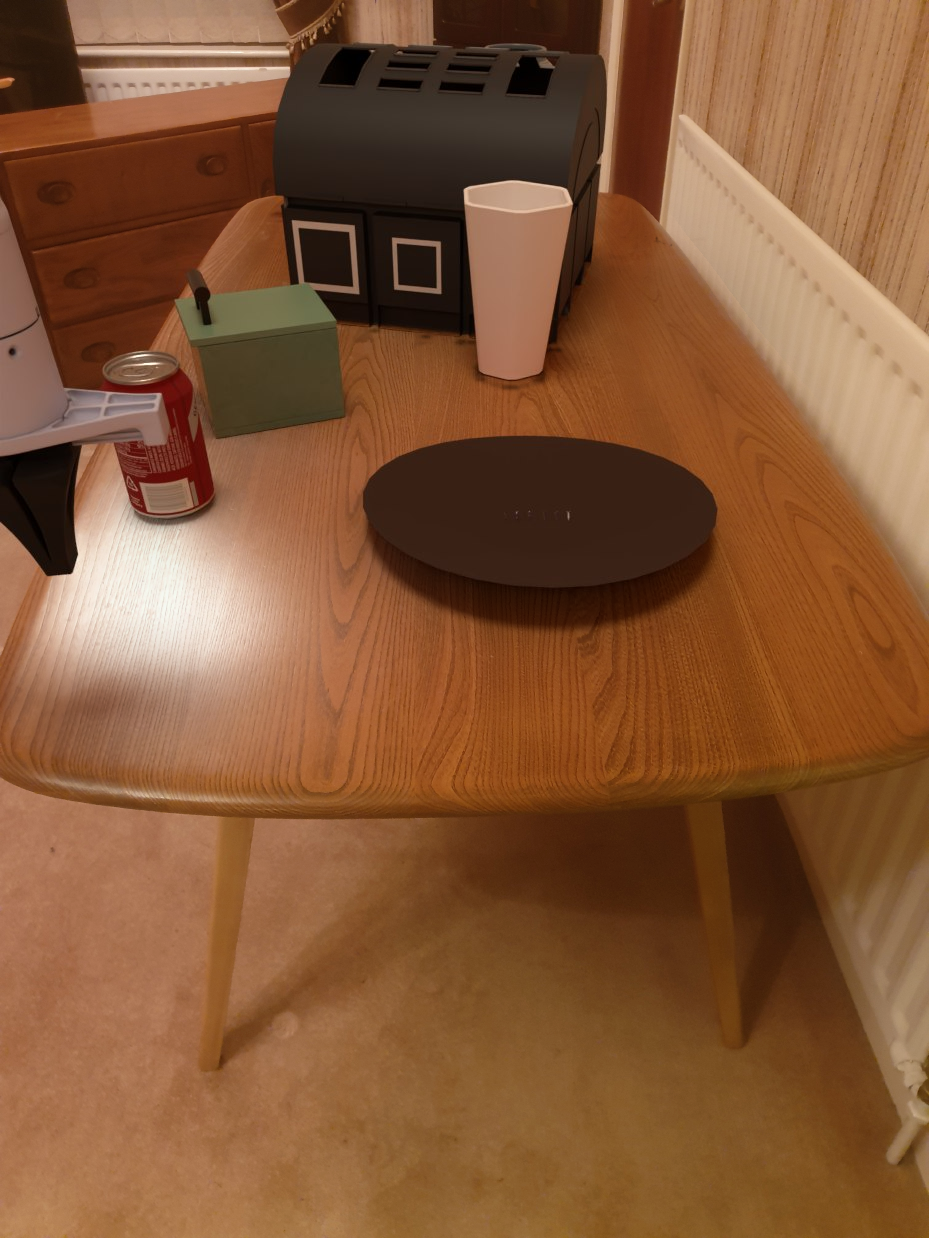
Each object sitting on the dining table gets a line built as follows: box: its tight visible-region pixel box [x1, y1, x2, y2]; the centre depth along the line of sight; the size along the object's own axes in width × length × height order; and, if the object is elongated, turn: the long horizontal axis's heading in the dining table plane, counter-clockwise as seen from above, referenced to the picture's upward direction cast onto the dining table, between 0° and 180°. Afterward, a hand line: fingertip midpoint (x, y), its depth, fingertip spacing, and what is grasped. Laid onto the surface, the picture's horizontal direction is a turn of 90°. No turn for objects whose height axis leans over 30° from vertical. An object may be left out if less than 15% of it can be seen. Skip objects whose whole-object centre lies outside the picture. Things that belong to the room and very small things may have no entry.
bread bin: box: [189, 327, 346, 439], centre depth 83 cm, size 12×10×9 cm
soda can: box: [99, 350, 216, 520], centre depth 68 cm, size 7×7×12 cm
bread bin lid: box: [174, 268, 338, 348], centre depth 79 cm, size 13×10×4 cm
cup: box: [464, 181, 573, 381], centre depth 88 cm, size 11×10×17 cm
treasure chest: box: [272, 41, 608, 345], centre depth 104 cm, size 32×32×26 cm
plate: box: [362, 435, 718, 589], centre depth 69 cm, size 28×28×4 cm
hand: (62, 564), depth 48 cm, fingers closed
